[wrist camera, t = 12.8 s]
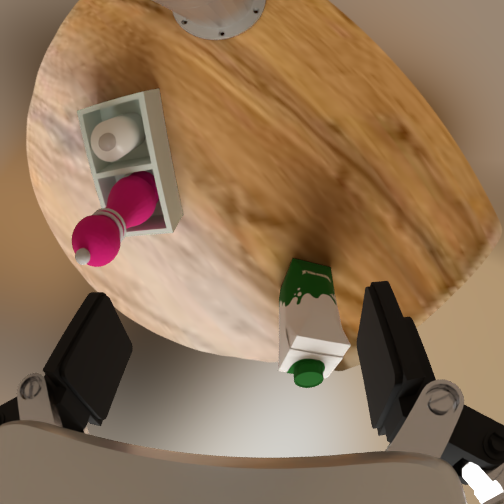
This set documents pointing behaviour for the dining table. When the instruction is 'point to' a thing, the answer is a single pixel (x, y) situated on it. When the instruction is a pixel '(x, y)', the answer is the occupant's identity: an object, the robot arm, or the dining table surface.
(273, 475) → the robot arm
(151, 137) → the grey divided tray
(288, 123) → the dining table surface
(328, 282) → the milk carton
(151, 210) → the pepper mill
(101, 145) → the salt cellar
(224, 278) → the dining table surface
